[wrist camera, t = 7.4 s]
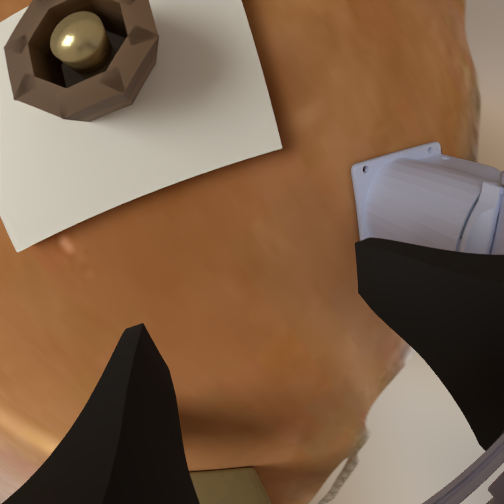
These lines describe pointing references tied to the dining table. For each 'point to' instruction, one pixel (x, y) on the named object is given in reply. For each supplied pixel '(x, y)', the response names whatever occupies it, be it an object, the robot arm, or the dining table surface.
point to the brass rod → (82, 44)
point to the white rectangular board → (137, 124)
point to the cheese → (229, 487)
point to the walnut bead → (49, 66)
